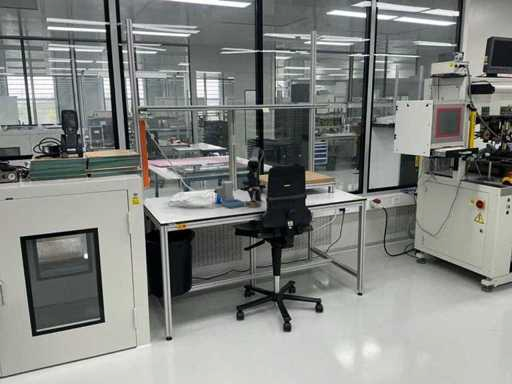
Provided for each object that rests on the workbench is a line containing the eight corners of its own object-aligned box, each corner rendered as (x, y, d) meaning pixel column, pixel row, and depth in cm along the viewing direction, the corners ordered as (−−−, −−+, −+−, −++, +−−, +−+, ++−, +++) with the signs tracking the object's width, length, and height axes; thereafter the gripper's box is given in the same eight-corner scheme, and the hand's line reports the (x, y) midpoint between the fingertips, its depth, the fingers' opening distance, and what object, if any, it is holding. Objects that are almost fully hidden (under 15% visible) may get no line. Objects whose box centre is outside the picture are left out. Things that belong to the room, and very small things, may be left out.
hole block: (254, 204, 307) (254, 200, 307) (260, 206, 301) (260, 202, 300) (245, 205, 303) (245, 201, 302) (251, 207, 296) (251, 203, 296)
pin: (253, 204, 304) (253, 190, 302) (257, 206, 301) (257, 191, 299) (249, 205, 302) (249, 191, 300) (252, 206, 299) (252, 192, 297)
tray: (236, 202, 310) (236, 198, 310) (244, 205, 302) (244, 201, 301) (221, 205, 303) (221, 201, 302) (229, 208, 294) (229, 204, 294)
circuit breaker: (213, 201, 315) (213, 181, 312) (232, 200, 319) (231, 180, 315) (214, 203, 308) (214, 183, 305) (234, 202, 311) (233, 182, 308)
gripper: (257, 174, 309) (257, 195, 312) (235, 177, 298) (236, 198, 302) (266, 176, 300) (266, 198, 304) (244, 179, 290) (244, 201, 293)
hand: (253, 199), depth 301 cm, fingers closed on pin, 3 cm apart
